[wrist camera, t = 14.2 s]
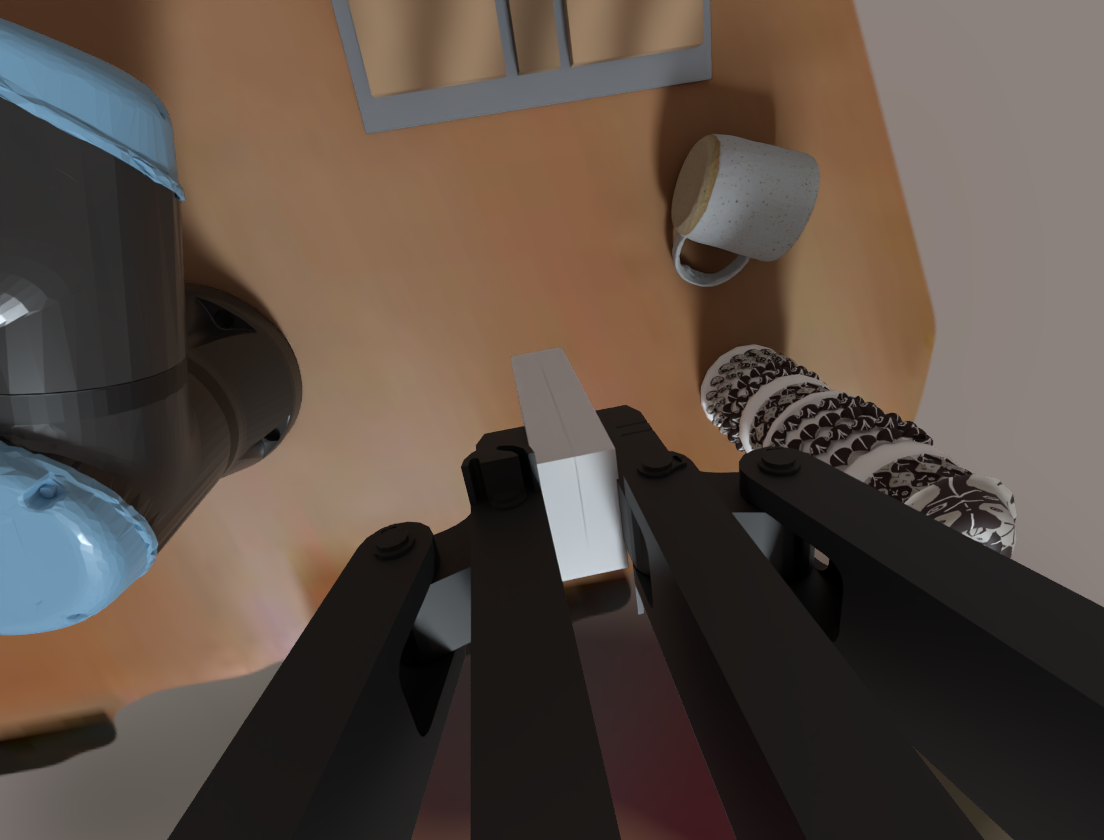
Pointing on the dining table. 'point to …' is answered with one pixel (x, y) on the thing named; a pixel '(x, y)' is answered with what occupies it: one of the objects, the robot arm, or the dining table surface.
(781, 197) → the ceramic mug
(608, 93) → the underlay mat
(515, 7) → the centre strip
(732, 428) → the decorative candle
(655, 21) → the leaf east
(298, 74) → the dining table surface
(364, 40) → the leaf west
